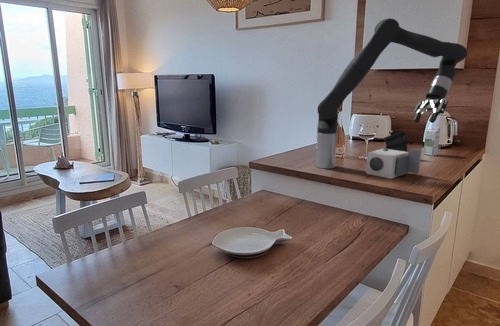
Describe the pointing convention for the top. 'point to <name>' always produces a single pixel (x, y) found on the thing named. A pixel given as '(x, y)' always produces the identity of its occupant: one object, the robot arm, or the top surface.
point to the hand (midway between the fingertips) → (423, 122)
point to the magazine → (396, 142)
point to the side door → (408, 162)
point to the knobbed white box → (383, 162)
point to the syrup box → (431, 142)
